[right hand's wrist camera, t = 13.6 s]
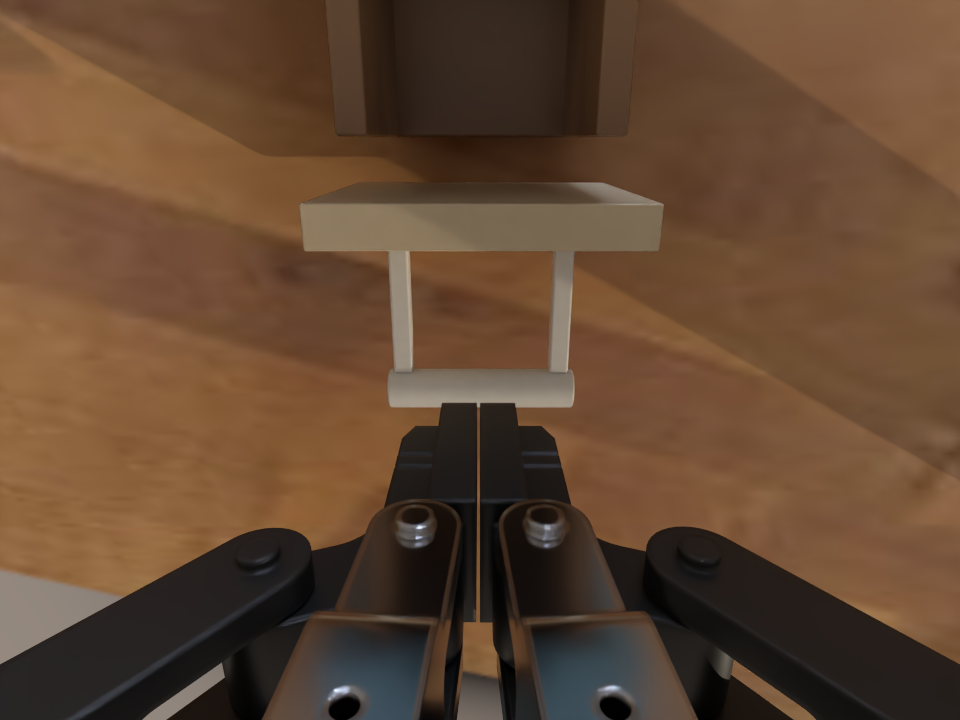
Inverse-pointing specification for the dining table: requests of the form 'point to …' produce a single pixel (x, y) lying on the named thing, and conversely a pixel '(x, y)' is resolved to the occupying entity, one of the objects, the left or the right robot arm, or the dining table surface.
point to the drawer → (481, 113)
